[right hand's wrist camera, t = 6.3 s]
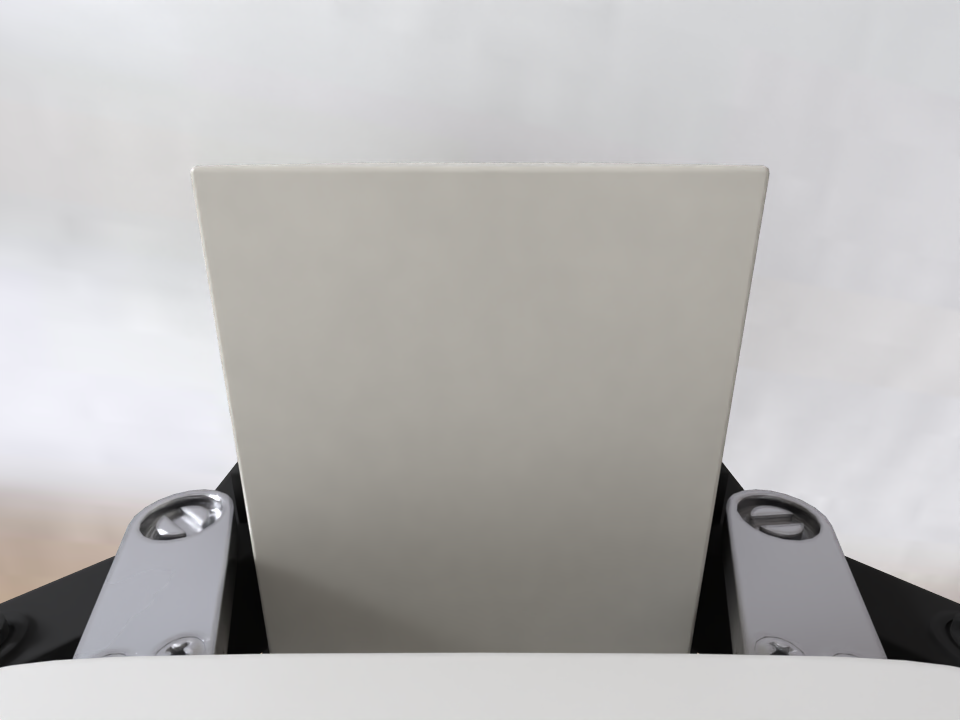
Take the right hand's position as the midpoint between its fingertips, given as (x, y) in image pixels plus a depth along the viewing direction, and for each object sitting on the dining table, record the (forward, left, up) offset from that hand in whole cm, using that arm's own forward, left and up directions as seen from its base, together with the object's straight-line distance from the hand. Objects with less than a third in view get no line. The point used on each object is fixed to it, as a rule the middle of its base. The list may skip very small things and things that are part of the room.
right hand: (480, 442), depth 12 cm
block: (+22, +10, -3) cm, 24 cm away
